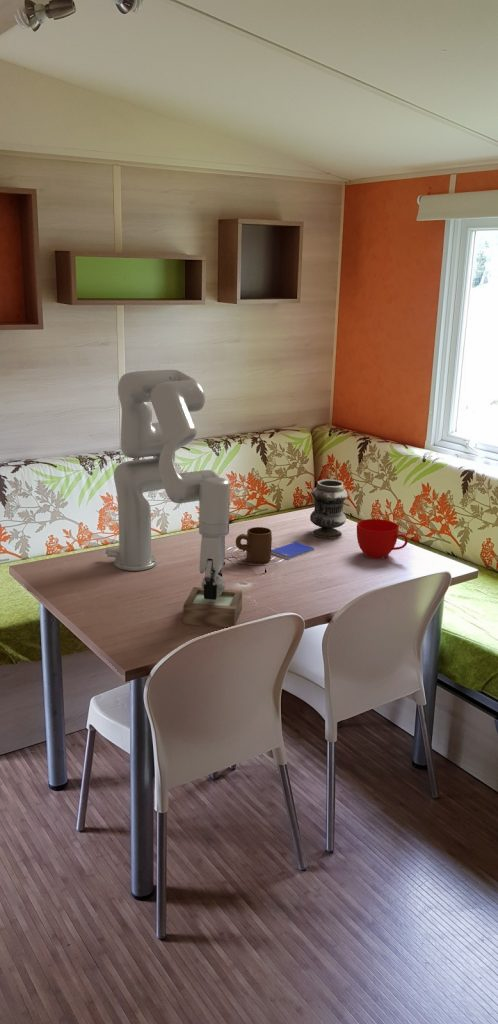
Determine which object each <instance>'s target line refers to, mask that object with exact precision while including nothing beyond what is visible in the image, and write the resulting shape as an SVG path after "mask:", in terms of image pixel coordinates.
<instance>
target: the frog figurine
mask: <svg viewBox="0 0 498 1024" xmlns="http://www.w3.org/2000/svg"><path fill="white" fill-rule="evenodd" d="M214 573H215V572H214ZM211 577H212V578H213V577H214V575H211ZM204 580H205V576H204V577H203V578H202V580H201V581H202V582H201V584H200V585H201V588H203V591H204ZM216 584H217V597H218V596H220V595H221V594H222V592H223V590H225V588H226V583H225V580H224V578H223V576H222V577H221V576H220V575H218V574H217V575H216Z"/></svg>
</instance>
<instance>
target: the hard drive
mask: <svg viewBox="0 0 498 1024" xmlns="http://www.w3.org/2000/svg"><path fill="white" fill-rule="evenodd" d="M314 551H315V547H314V546H310V545H307V544H305V543H304V544H303V543H301V542H297V541H294V542H292V543H288V544H285V545H283V546H279V547H276V548H274V549H271V555H273V556H277V557H279V558H283V559H284V560H285V559H286V560H288V561H289V560H291V559H294V558H297V557H300V556H303V555H306V554H309V553H311V552H314Z"/></svg>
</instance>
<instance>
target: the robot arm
mask: <svg viewBox="0 0 498 1024" xmlns="http://www.w3.org/2000/svg"><path fill="white" fill-rule="evenodd" d="M117 385H118V386H117V395H118V399H119V403H120V408H121V418H120V419H121V423H120V424H121V425H120V426H121V427H120V449H121V453H122V454H123V455H124V456H125V457H126V458H129V459H134V460H127V461H124V462H121V463H119V464H118V465H117V466H116V467H115V469H114V471H113V480H114V485H115V486H114V487H115V489H116V490H115V491H116V496H117V497H116V498H117V512H118V513H117V517H118V519H117V520H118V547H117V548H111V547H107V548H106V549H105V554H106V556H107V557H108V558H110V557H111V558H113V557H114V558H115V559H114V561H113V562H114V563H113V564H114V566H115V568H117V569H119V570H124V571H130V572H131V571H133V572H134V571H135V572H136V571H137V572H138V571H145V570H149V569H151V568H154V567H155V566H156V565H157V563H158V562H157V561H158V560H157V557H156V556H154V555H152V512H151V511H152V510H151V508H152V507H151V505H150V503H149V501H148V500H147V499H146V497H145V496H144V493H148V492H153V491H160V490H164V491H165V493H166V496H167V497H168V499H169V500H170V501H171V502H173V503H175V504H186V503H193V502H198V504H199V505H198V508H199V509H198V519H199V520H198V534H199V535H201V542H200V553H199V554H200V556H199V573H200V574H203V573H204V577H205V580H204V599H212V600H216V598H217V584H216V575H217V574H218V575H220V576H221V577H222V578H223V566H224V562H225V557H226V536H227V535H229V534H230V501H231V499H230V497H231V495H230V494H231V487H230V486H231V485H230V482H229V480H227V479H226V478H223V477H220V476H219V475H218V474H217V472H215V471H213V470H211V469H204V470H197V471H196V470H195V471H190V472H189V471H188V472H186V471H185V472H181V473H178V471H177V469H176V466H175V461H176V460H175V459H176V458H175V456H176V451H178V450H180V449H181V448H183V447H185V446H186V445H188V444H189V443H191V442H193V440H194V439H195V438H196V436H197V433H198V432H197V428H196V425H195V423H194V421H193V420H194V419H193V418H192V415H191V413H192V412H193V413H194V412H195V413H196V412H198V411H201V410H202V409H203V407H204V405H205V404H206V403H205V401H206V397H205V396H206V395H205V391H204V389H203V387H202V386H201V383H199V382H198V381H197V380H196V379H195V378H193V377H191V376H189V375H187V374H186V373H184V372H182V371H180V370H178V369H156V370H139V371H138V370H137V371H130V372H127V373H125V374H123V375H122V376H121V377H120V378H119V381H118V384H117ZM150 403H151V405H152V407H153V410H154V414H155V416H156V419H157V422H152V420H153V410H152V407H151V405H150ZM148 457H153V458H148ZM138 458H139V459H138ZM140 458H141V459H140ZM143 458H144V459H143ZM135 459H136V460H135ZM214 572H215V573H214ZM211 575H214V577H213V578H212V577H211Z"/></svg>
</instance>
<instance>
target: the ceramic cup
mask: <svg viewBox="0 0 498 1024" xmlns="http://www.w3.org/2000/svg"><path fill="white" fill-rule="evenodd" d="M399 529H400V527H399V524H397V523H395V521H392V520H391V521H390V520H388V519H387V520H386V519H382V518H369V519H362V520H359V521H358V522H357V523H356V538H357V544H358V546H359V549H360V550H361V551H362V552H363V554H364V556H366V557H367V558H369V559H373V560H380V559H381V560H382V559H385V558H387V556H389V554H391V552H393V551H397V550H402V549H403V548H405V547H406V546H407V544H408V542H409V538H408V536H407V535H406V534H404V533H399V532H400V531H399ZM399 537H402V538H403V539H404V543H403V544H402V545H400V546H396V544H397V541H398V538H399Z"/></svg>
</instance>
